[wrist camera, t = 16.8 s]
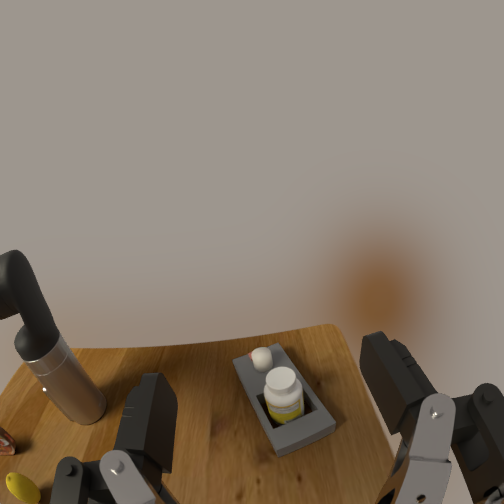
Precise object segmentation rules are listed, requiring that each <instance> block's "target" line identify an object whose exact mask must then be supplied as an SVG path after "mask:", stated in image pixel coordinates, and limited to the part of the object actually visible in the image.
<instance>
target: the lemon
mask: <svg viewBox="0 0 504 504" xmlns="http://www.w3.org/2000/svg"><path fill="white" fill-rule="evenodd" d="M6 484H7V487H8V489H9V490H10V492H11V493H12V494H13V495H14V496H15V497H17V498H18V499H19V500H21V501H23V502H25V503H28V504H36V503H38V502H39V501H40V498H41V495H40V491H39V489H38V487H37V486H36V485H35V484H34V483H33V482H32V481H31V480H30V479H29V478H27V477H25V476H24V475H21V474H19V473H10V474H8V475H7V477H6Z"/></svg>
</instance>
